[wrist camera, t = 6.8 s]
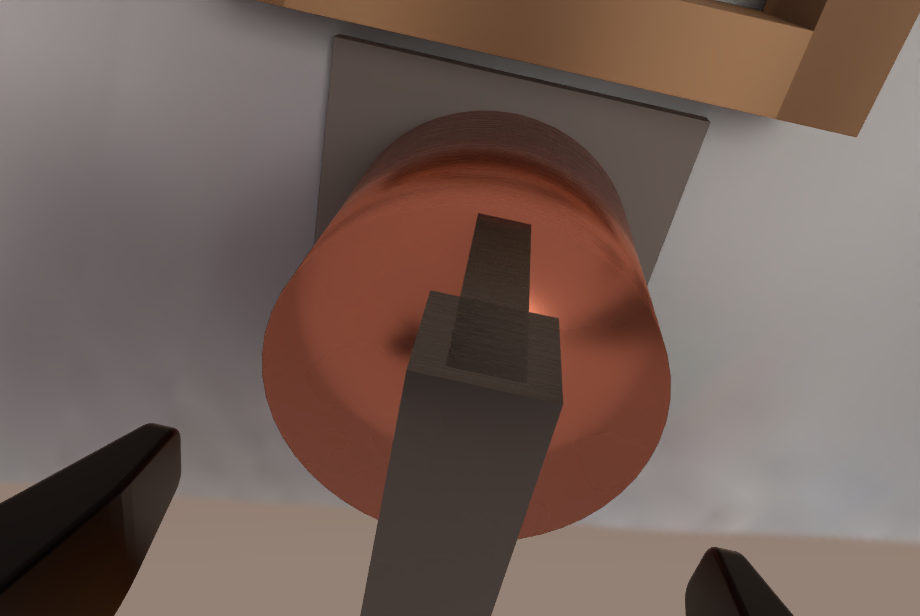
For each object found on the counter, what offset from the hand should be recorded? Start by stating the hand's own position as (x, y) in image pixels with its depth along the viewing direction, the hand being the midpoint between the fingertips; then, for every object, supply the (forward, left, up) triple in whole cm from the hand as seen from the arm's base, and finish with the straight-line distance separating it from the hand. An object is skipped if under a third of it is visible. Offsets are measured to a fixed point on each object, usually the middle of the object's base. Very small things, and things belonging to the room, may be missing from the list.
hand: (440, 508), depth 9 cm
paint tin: (0, 0, -9) cm, 9 cm away
